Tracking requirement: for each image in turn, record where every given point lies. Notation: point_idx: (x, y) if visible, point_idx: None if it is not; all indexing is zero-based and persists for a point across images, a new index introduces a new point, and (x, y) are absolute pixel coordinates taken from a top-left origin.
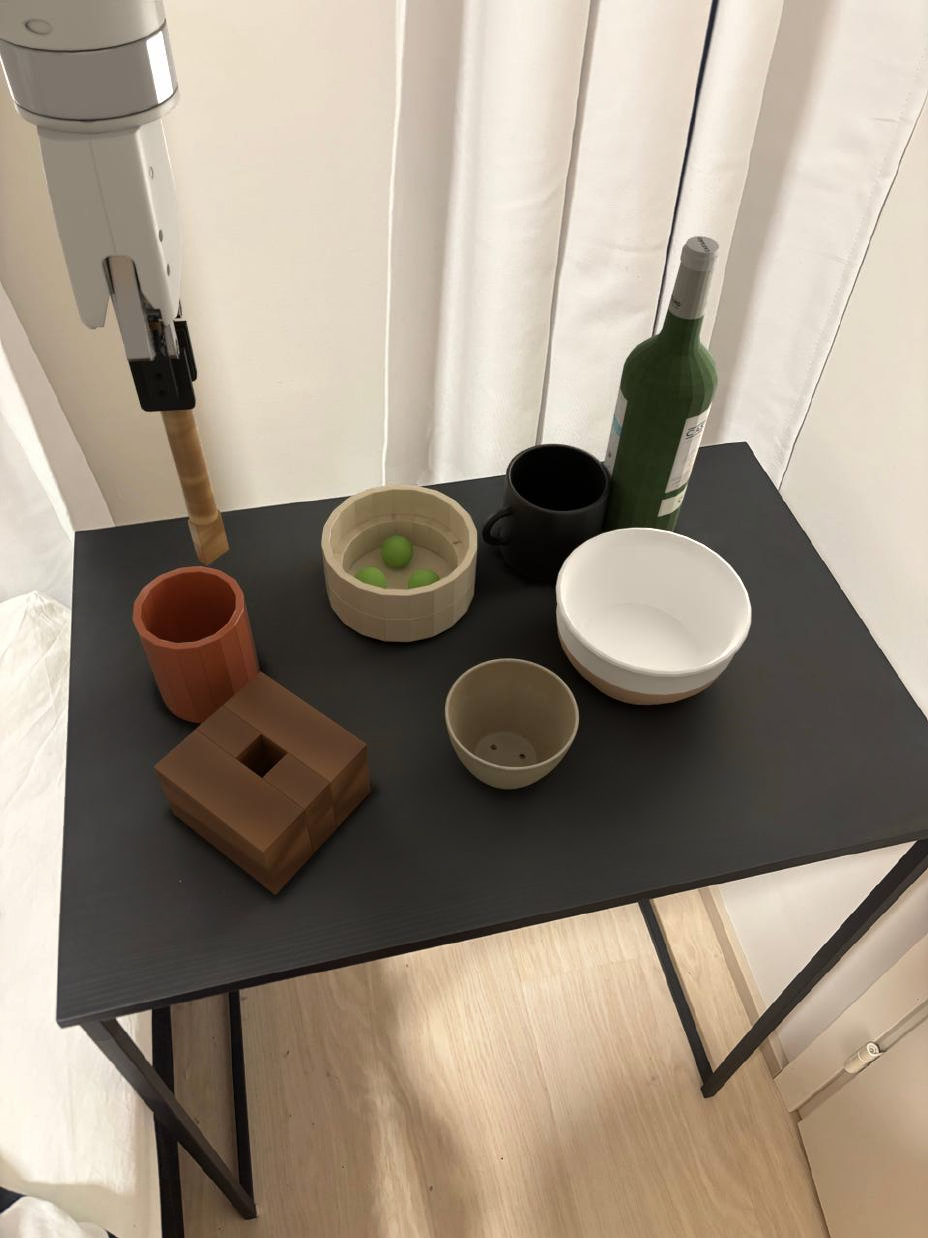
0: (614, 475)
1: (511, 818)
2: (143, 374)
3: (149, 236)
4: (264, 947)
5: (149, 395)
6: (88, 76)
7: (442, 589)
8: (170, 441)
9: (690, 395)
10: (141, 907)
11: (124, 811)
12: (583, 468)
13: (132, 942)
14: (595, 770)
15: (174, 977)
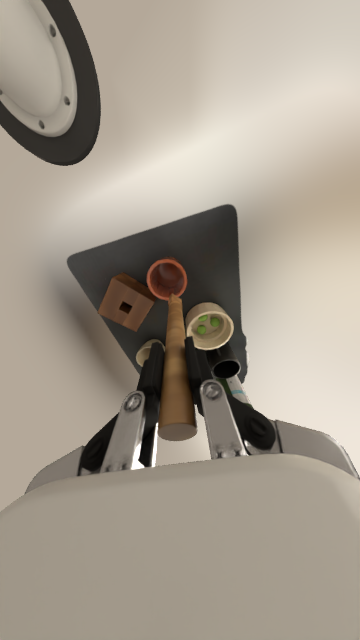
0: (225, 379)
1: (141, 345)
2: (138, 383)
3: None
4: (96, 302)
5: (143, 365)
6: None
7: None
8: (168, 327)
9: None
10: (95, 270)
11: (120, 256)
12: (232, 370)
13: (85, 270)
14: None
15: (81, 283)
